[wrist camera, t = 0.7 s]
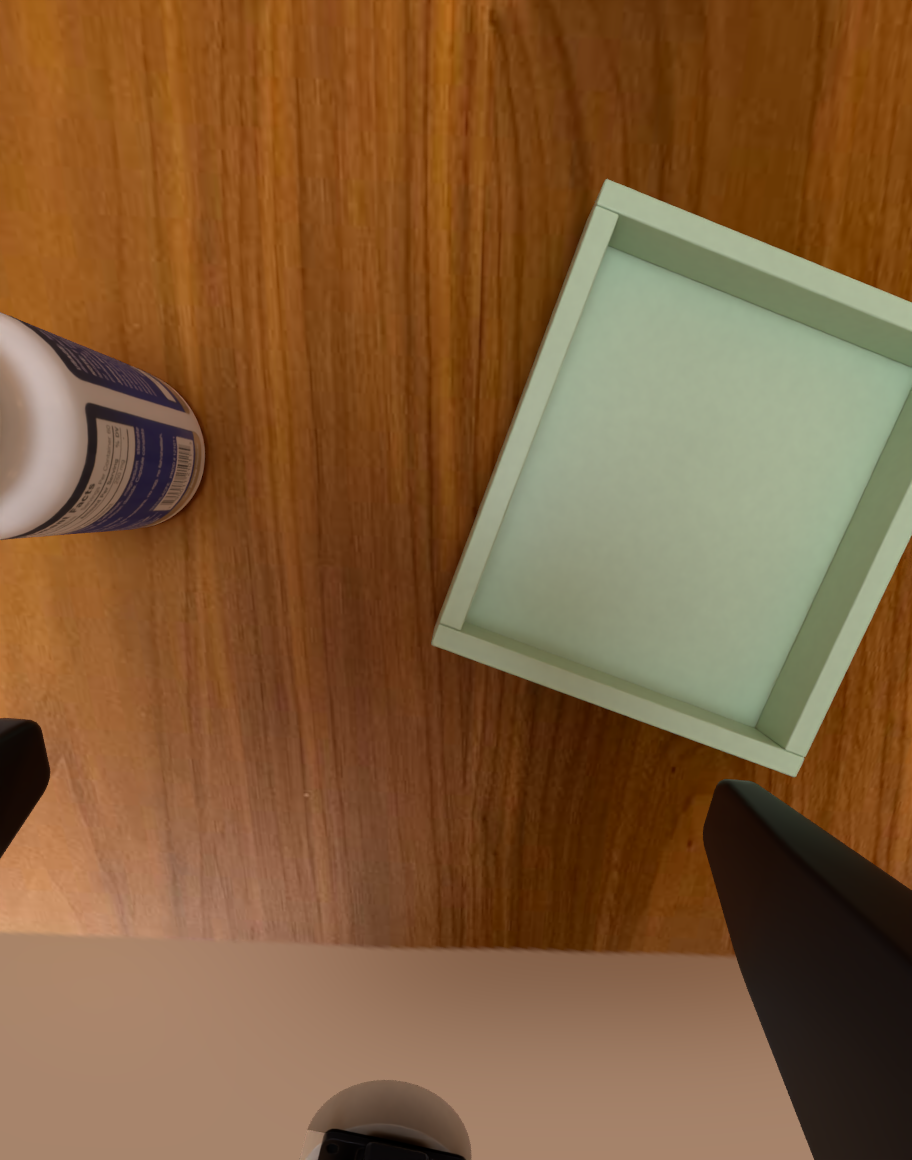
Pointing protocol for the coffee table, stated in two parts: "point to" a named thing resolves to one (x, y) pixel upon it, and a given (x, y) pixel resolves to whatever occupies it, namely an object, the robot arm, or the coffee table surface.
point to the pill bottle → (88, 440)
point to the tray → (695, 485)
